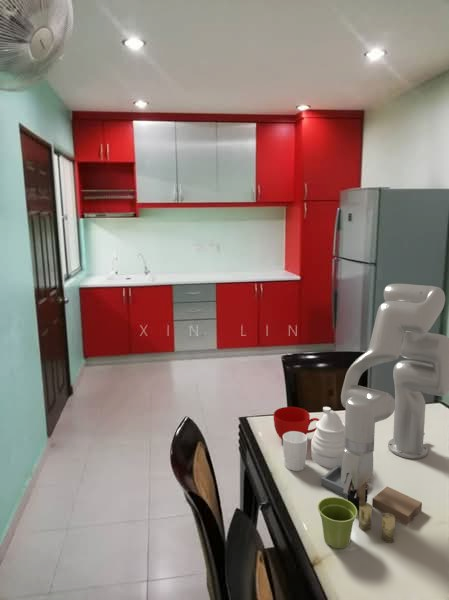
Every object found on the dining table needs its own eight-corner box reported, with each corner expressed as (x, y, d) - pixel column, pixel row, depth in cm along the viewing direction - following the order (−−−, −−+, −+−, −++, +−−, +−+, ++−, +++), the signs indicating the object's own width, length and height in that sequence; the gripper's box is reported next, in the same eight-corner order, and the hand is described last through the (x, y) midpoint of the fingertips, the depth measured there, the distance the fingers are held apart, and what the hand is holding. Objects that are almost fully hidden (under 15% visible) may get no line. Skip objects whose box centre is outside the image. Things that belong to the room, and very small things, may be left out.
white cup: (307, 473, 134) (307, 444, 132) (281, 471, 135) (281, 442, 133) (307, 459, 141) (307, 432, 139) (283, 457, 143) (283, 430, 141)
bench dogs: (362, 521, 111) (362, 500, 110) (396, 538, 105) (397, 516, 104) (356, 527, 109) (357, 506, 108) (390, 544, 103) (392, 522, 102)
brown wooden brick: (386, 495, 122) (387, 486, 122) (421, 512, 115) (421, 502, 114) (372, 508, 117) (372, 498, 117) (407, 526, 110) (407, 516, 109)
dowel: (353, 501, 119) (354, 475, 118) (367, 507, 117) (368, 481, 115) (346, 508, 117) (347, 482, 115) (360, 515, 114) (361, 488, 112)
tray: (337, 472, 134) (337, 464, 133) (366, 484, 127) (366, 476, 127) (321, 485, 127) (321, 478, 127) (350, 499, 120) (350, 491, 120)
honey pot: (328, 472, 134) (329, 419, 131) (303, 453, 145) (303, 404, 142) (358, 461, 140) (360, 410, 137) (332, 444, 151) (333, 396, 148)
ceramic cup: (321, 451, 146) (322, 424, 145) (272, 447, 149) (272, 421, 148) (319, 433, 159) (320, 408, 157) (274, 430, 162) (274, 405, 160)
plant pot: (312, 528, 109) (312, 497, 108) (347, 525, 110) (348, 495, 109) (323, 555, 100) (324, 523, 99) (362, 552, 101) (363, 519, 99)
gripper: (360, 427, 122) (359, 485, 125) (330, 450, 110) (329, 513, 113) (386, 436, 116) (383, 496, 120) (357, 460, 105) (355, 526, 108)
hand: (357, 503), depth 116 cm, fingers closed on dowel, 4 cm apart
